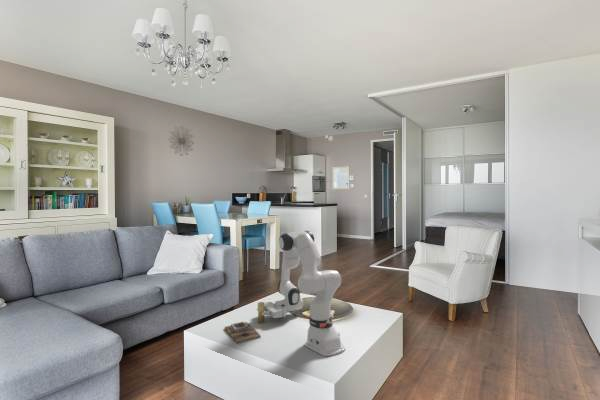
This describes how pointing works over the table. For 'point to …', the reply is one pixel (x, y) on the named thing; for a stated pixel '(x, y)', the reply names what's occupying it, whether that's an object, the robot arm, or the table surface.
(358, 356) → the table surface
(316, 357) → the table surface
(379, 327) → the table surface
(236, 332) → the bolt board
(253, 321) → the table surface
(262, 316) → the brass peg
